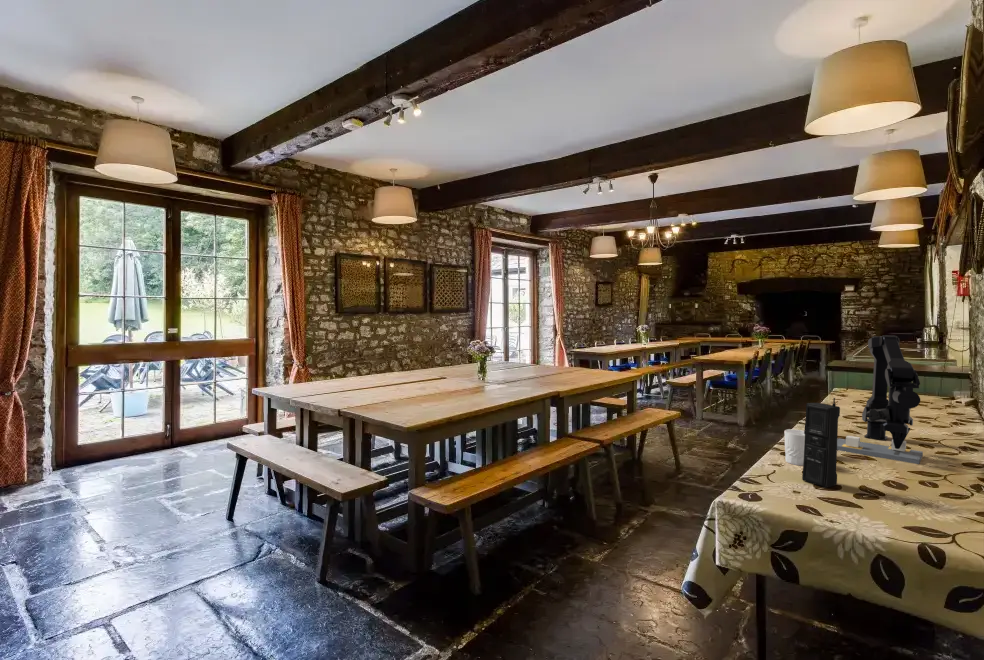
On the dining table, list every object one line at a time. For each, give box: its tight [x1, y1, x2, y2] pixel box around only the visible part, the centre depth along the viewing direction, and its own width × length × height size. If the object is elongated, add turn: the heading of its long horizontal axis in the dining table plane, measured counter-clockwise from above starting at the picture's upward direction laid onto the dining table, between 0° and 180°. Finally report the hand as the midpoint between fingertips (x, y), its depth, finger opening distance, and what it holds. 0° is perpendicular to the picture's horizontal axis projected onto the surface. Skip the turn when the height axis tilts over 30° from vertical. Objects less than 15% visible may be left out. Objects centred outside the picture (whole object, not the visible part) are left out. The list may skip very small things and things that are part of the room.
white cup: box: [784, 428, 805, 467], centre depth 160 cm, size 8×8×10 cm
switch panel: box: [837, 437, 924, 465], centre depth 172 cm, size 13×24×2 cm, turn 45°
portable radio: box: [801, 397, 841, 489], centre depth 141 cm, size 8×6×25 cm
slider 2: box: [890, 438, 907, 452], centre depth 169 cm, size 3×4×3 cm
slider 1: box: [845, 435, 861, 447], centre depth 174 cm, size 3×4×3 cm
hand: (897, 448), depth 167 cm, fingers closed
